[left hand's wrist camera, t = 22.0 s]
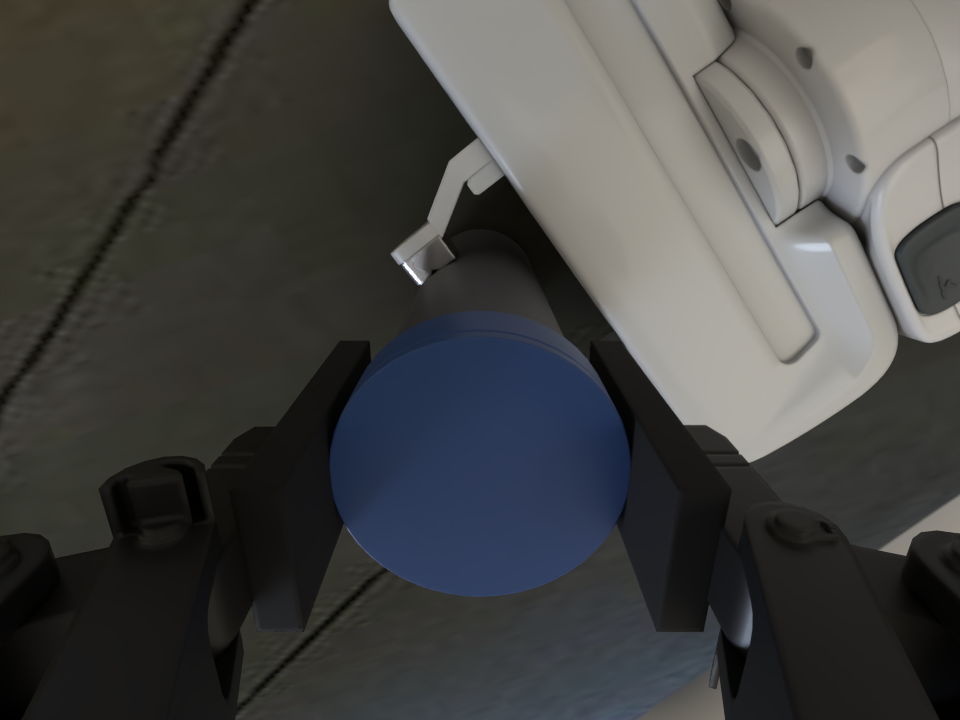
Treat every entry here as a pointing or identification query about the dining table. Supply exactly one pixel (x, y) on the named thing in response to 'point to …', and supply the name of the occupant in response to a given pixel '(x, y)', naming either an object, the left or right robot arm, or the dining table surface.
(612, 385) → the left robot arm
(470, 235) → the jar
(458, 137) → the dining table surface
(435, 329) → the lid
